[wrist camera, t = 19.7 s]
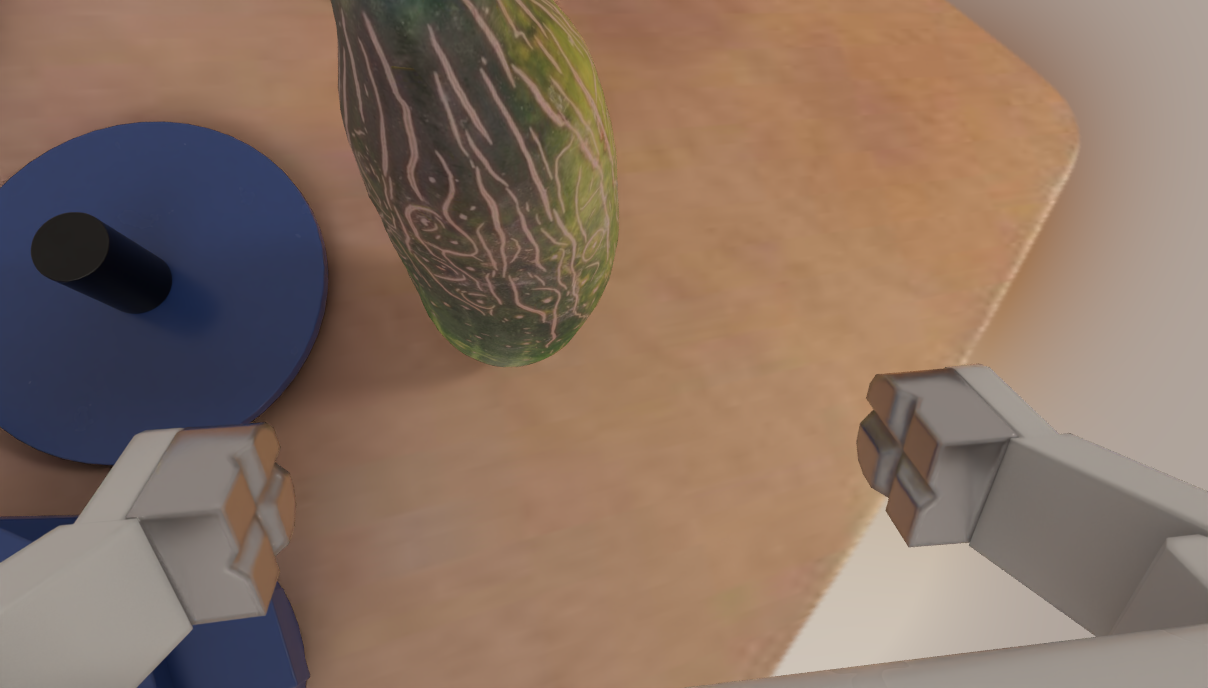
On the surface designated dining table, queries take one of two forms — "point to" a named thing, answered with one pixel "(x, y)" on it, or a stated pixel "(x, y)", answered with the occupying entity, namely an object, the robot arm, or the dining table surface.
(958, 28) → the dining table surface
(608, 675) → the dining table surface
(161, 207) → the lid
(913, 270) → the dining table surface
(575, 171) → the vegetable
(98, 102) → the dining table surface
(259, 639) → the pot
